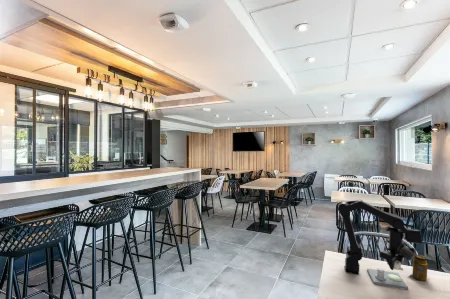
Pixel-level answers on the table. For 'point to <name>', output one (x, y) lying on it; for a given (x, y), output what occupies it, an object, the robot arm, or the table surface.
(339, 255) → the table surface
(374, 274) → the post board
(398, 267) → the cream rounded dome
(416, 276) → the condiment
